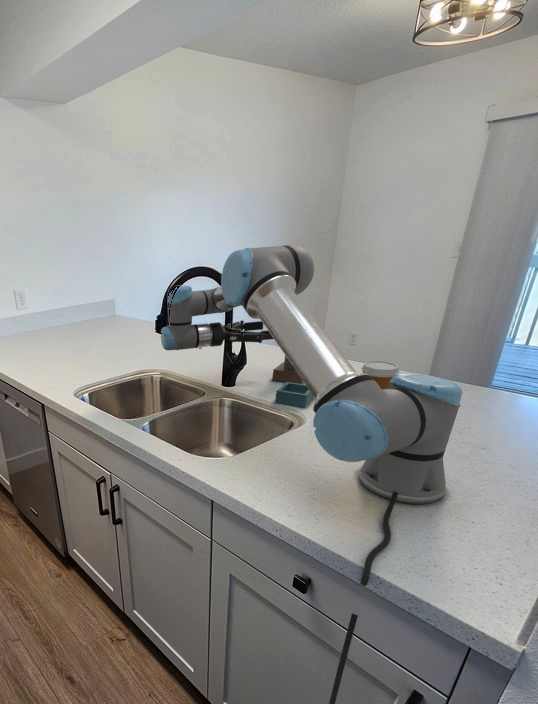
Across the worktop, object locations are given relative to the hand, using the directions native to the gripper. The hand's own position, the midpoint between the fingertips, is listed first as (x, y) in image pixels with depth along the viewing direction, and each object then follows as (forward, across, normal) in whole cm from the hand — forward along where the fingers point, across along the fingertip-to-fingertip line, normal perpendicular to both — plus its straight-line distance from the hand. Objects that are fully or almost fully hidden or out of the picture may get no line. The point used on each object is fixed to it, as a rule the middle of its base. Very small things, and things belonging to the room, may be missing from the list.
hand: (271, 329), depth 143 cm
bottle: (+9, 0, -14) cm, 17 cm away
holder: (+1, +19, -18) cm, 26 cm away
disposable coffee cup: (+20, +28, -18) cm, 39 cm away
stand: (+9, 0, -18) cm, 20 cm away
